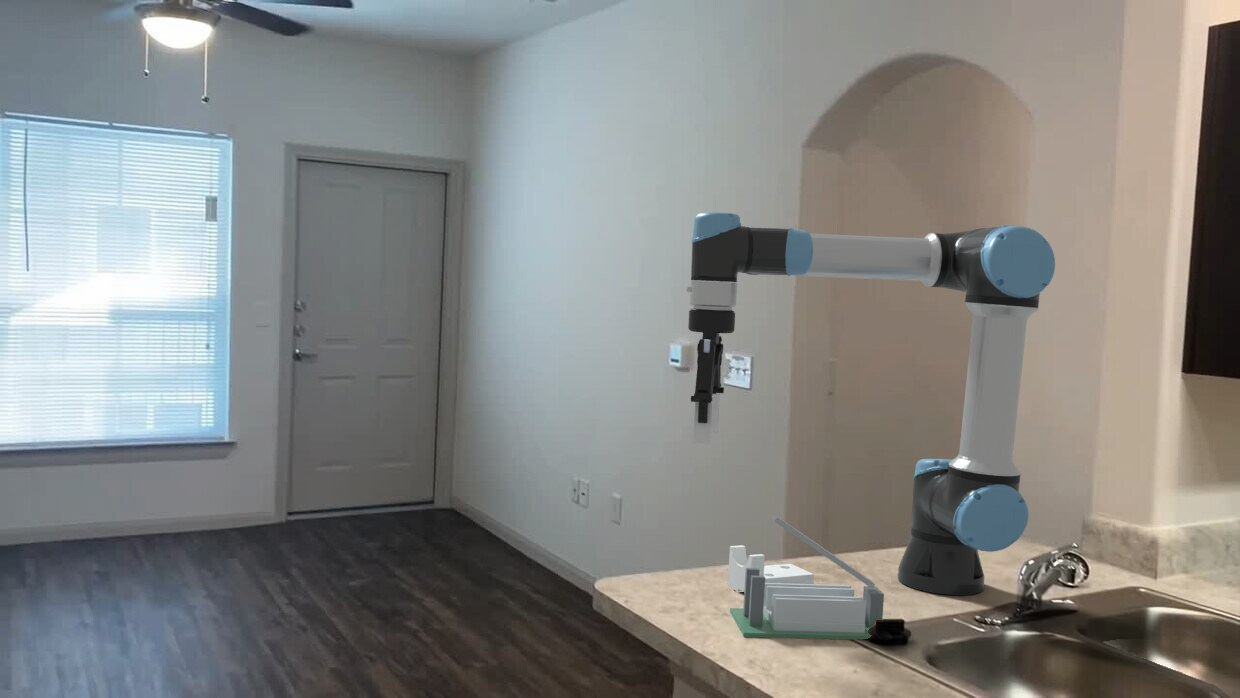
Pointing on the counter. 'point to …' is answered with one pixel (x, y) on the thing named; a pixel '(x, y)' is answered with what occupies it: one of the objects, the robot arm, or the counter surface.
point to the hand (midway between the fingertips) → (705, 437)
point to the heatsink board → (806, 610)
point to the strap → (823, 551)
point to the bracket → (762, 570)
